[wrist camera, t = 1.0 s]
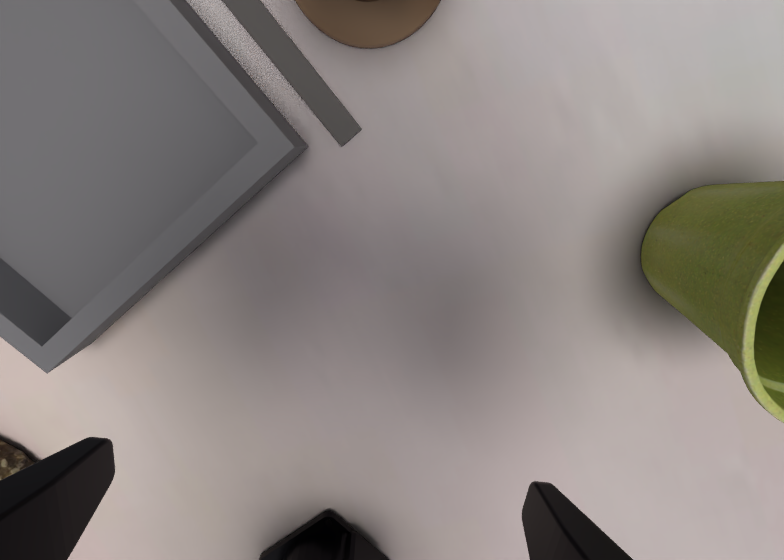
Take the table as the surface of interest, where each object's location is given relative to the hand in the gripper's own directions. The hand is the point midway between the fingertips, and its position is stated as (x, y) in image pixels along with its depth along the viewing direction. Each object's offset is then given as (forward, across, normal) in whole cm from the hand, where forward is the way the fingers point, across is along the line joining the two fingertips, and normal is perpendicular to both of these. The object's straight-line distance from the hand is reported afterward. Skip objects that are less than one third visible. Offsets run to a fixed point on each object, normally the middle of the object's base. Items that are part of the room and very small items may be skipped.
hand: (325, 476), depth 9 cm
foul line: (+13, +6, -12) cm, 19 cm away
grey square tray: (+13, +14, -6) cm, 20 cm away
